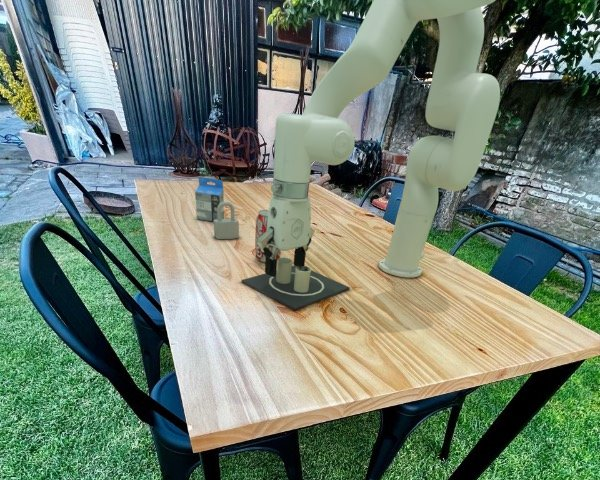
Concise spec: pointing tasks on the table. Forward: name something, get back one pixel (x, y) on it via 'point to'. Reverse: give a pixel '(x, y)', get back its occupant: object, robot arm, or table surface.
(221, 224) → the padlock
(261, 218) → the soda can
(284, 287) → the board
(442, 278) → the table surface
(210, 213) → the label tape box
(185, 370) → the table surface
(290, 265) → the eye dot
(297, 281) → the eye dot
